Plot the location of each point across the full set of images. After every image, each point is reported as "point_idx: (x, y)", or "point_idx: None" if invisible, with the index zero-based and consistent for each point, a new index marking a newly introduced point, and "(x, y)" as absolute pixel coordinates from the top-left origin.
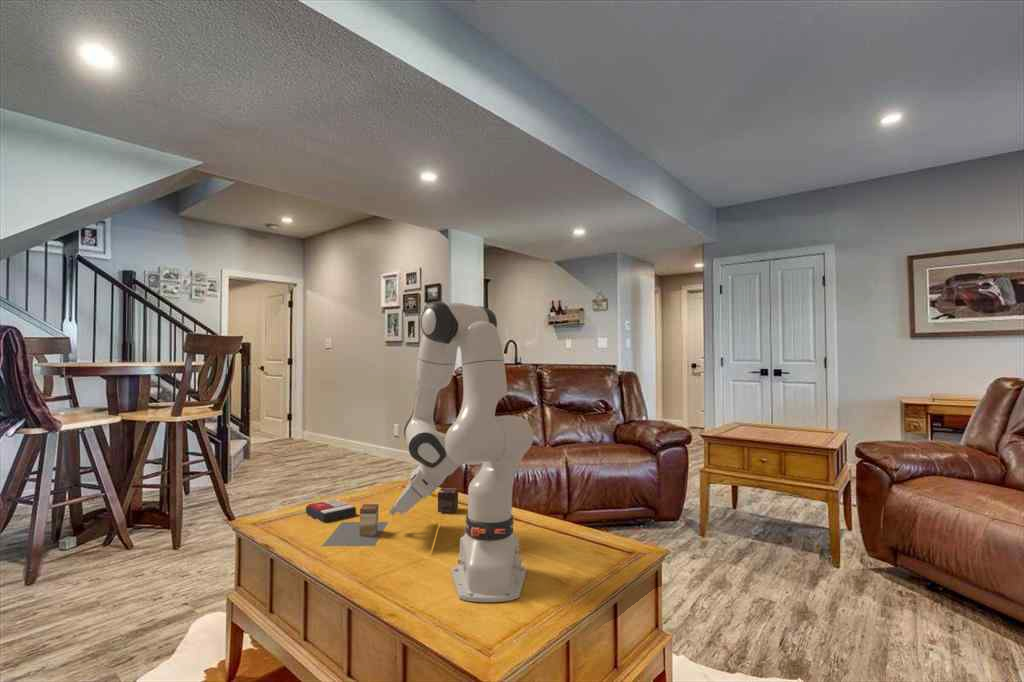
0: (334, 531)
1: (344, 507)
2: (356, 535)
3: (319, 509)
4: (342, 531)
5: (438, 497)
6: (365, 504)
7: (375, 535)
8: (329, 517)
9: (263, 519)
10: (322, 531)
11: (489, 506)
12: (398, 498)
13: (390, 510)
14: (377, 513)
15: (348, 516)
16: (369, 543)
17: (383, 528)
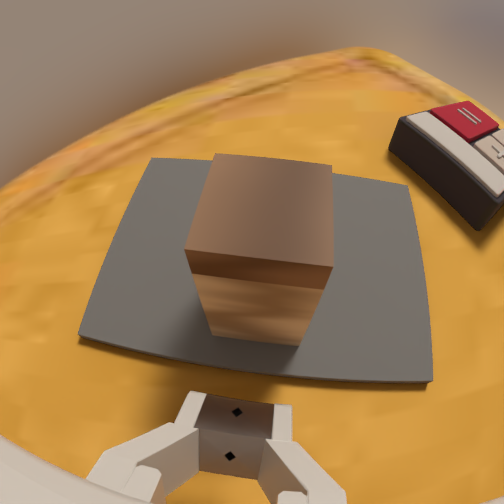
0: None
1: (477, 165)
2: None
3: (432, 109)
4: None
5: None
6: (321, 175)
7: (214, 338)
8: (408, 141)
9: (396, 67)
10: (323, 146)
11: None
12: (10, 468)
13: (186, 400)
14: (281, 297)
15: (459, 200)
16: (109, 312)
17: (328, 373)
